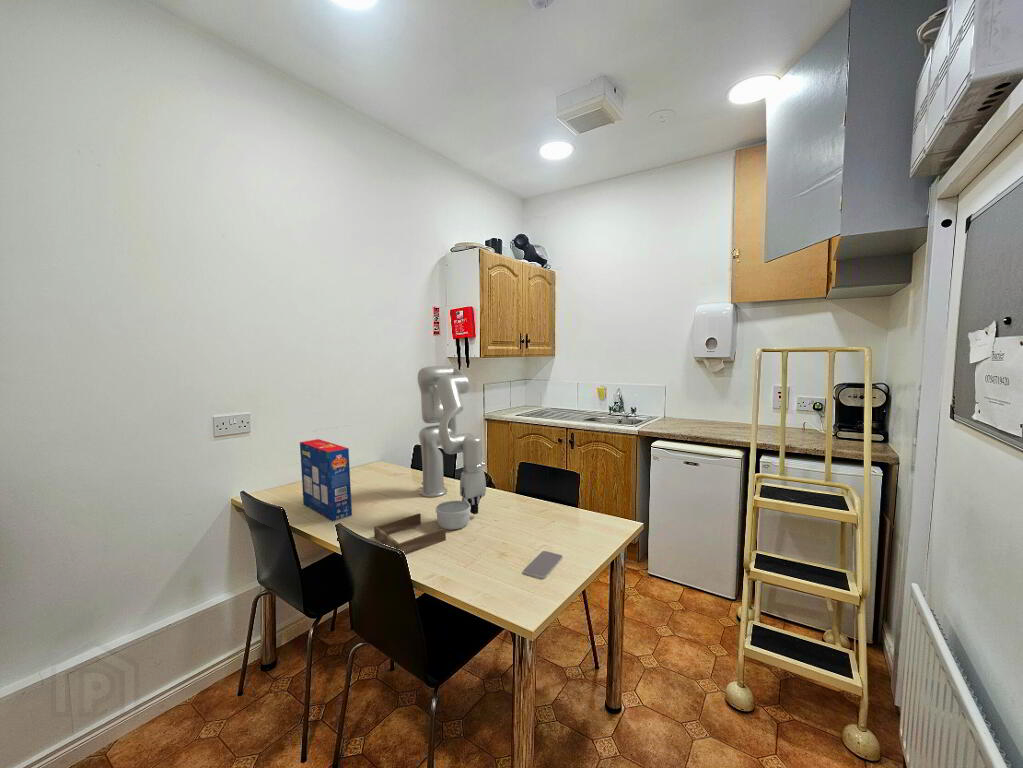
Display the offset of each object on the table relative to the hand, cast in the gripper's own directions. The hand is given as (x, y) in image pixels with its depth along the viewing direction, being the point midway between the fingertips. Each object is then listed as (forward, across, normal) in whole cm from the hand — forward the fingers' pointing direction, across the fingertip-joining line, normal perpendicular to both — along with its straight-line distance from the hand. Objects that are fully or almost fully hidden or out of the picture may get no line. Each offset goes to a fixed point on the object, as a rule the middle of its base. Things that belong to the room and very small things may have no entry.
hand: (474, 512), depth 165 cm
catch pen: (+2, +28, 0) cm, 28 cm away
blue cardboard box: (+2, +41, -50) cm, 64 cm away
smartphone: (+2, +6, +44) cm, 45 cm away
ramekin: (+2, +10, 0) cm, 10 cm away
